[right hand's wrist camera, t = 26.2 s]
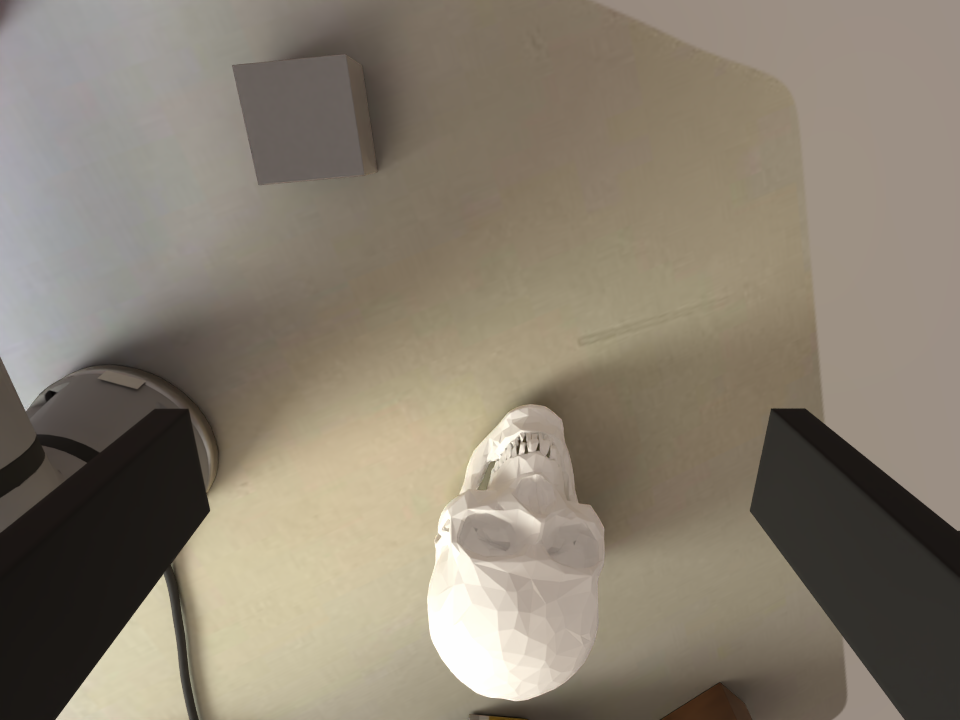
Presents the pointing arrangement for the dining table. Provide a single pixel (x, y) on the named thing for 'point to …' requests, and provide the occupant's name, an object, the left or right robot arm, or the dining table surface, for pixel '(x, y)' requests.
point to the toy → (490, 718)
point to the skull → (517, 565)
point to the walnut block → (712, 707)
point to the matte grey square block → (306, 118)
